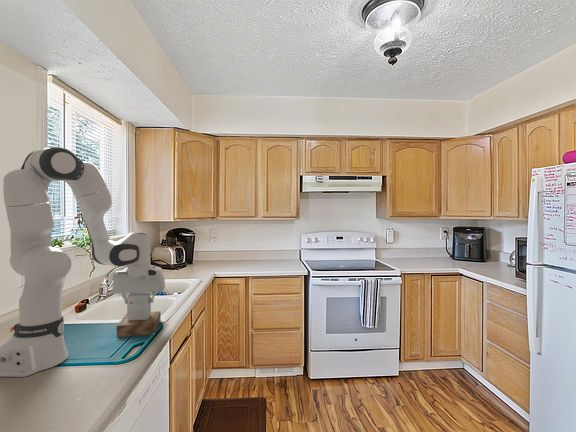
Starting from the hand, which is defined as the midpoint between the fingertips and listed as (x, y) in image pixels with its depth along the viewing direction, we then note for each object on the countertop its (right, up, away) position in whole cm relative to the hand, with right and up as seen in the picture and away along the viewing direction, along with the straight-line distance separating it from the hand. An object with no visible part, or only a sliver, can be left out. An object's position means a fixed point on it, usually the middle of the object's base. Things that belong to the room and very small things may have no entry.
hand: (139, 302), depth 131 cm
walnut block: (0, -12, +1) cm, 12 cm away
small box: (0, -7, 0) cm, 7 cm away
